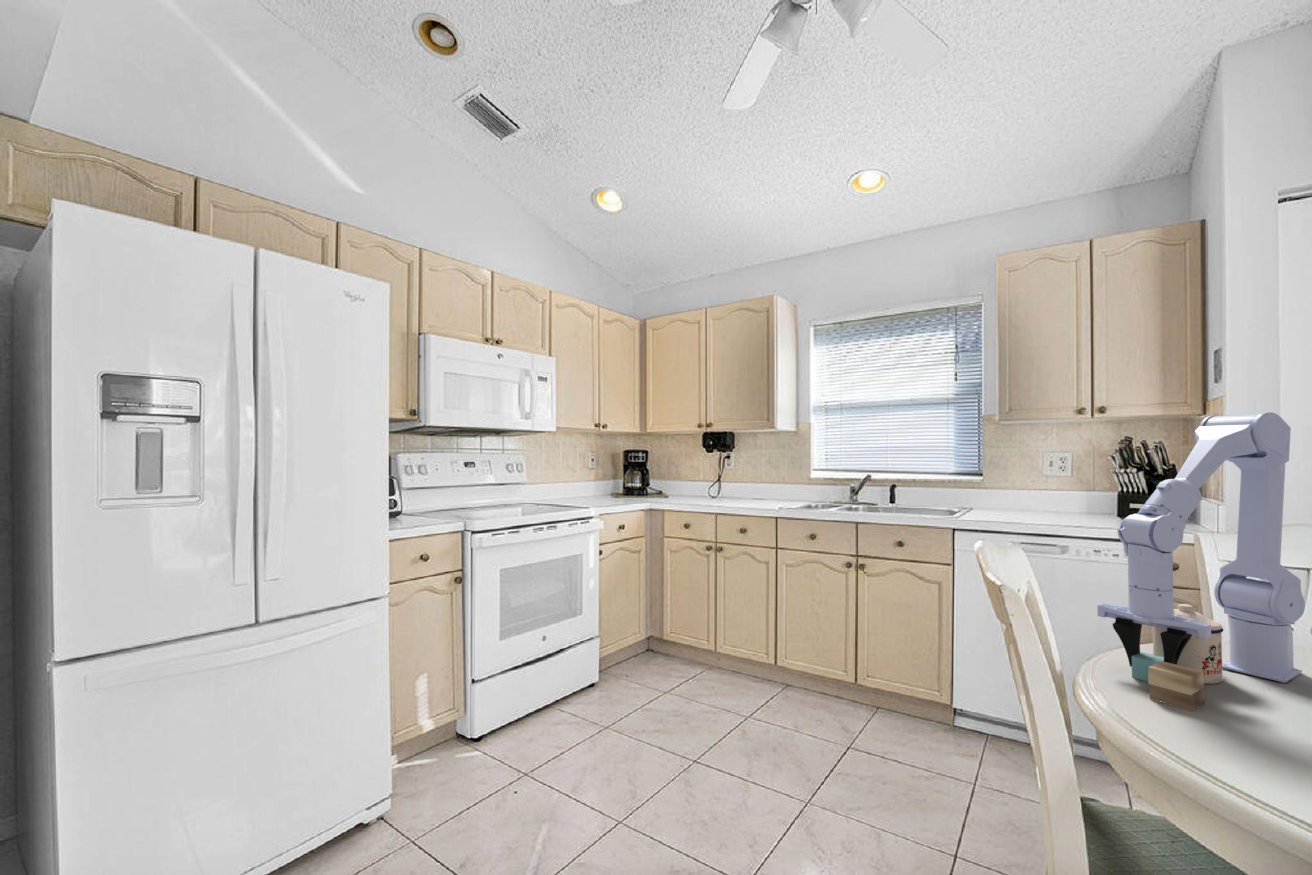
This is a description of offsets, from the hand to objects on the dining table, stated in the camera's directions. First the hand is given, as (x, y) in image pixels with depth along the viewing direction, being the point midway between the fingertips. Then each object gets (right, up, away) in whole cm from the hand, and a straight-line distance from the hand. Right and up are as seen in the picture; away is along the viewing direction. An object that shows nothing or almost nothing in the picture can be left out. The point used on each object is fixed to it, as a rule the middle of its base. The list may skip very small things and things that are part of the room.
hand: (1151, 670), depth 97 cm
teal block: (0, -1, 0) cm, 1 cm away
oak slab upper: (-3, +1, -8) cm, 9 cm away
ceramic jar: (+9, -2, +3) cm, 9 cm away
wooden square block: (-3, -2, -9) cm, 9 cm away
